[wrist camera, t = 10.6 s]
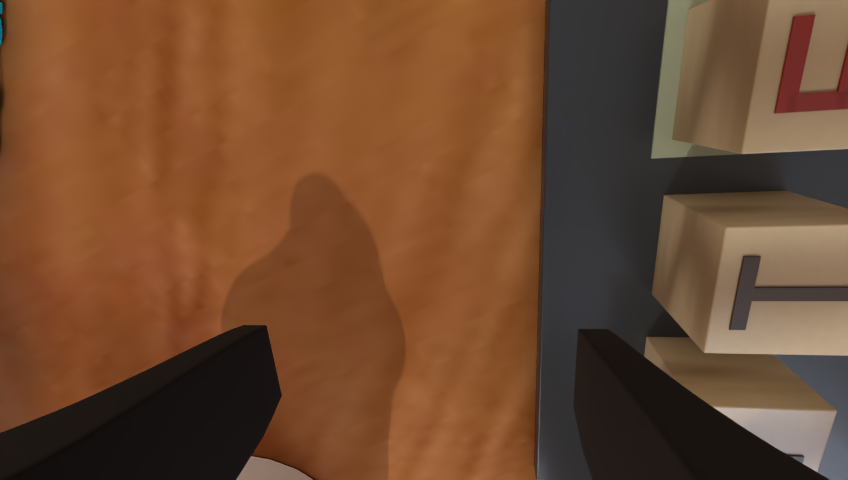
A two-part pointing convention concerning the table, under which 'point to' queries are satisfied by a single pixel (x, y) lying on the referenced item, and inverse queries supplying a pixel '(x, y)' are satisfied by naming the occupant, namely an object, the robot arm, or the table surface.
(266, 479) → the honey pot
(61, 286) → the table surface
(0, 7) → the text ornament
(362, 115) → the table surface
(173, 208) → the table surface
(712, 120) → the block
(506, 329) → the table surface
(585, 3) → the letter board
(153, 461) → the robot arm
